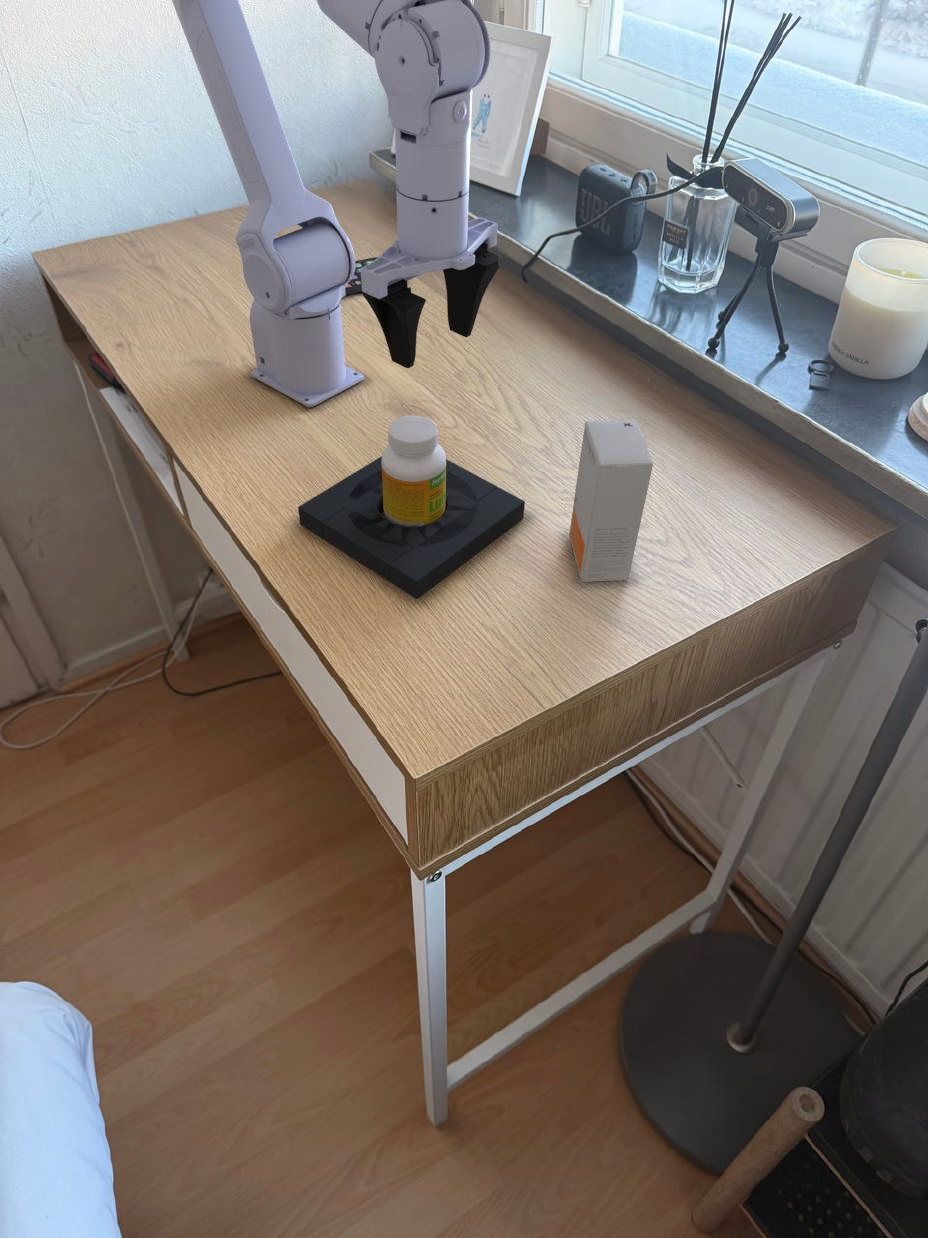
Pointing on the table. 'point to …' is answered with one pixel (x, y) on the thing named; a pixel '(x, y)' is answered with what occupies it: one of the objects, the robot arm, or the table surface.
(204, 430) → the table surface
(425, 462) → the supplement bottle
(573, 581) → the table surface
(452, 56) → the robot arm
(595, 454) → the cosmetic box
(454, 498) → the socket pad
